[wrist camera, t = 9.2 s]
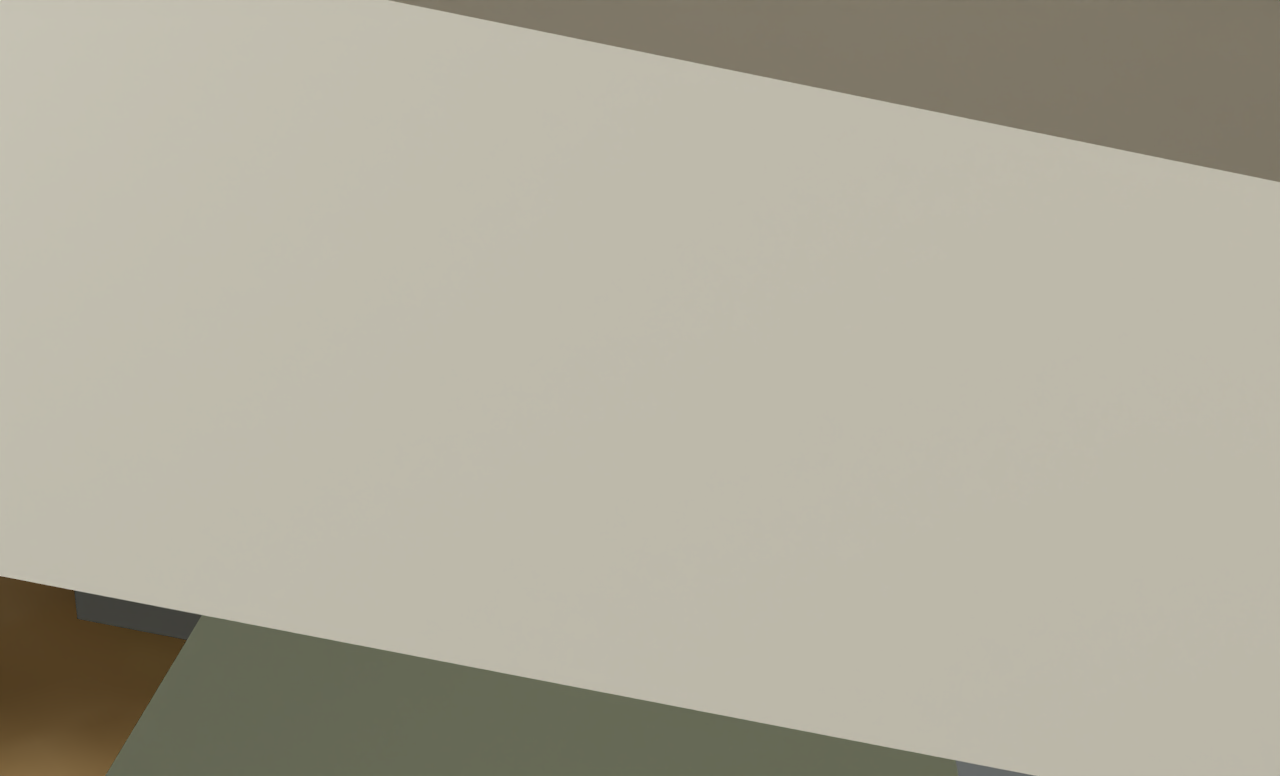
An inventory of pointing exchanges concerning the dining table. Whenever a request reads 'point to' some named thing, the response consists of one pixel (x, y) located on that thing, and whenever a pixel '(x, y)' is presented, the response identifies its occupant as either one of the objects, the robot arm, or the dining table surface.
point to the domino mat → (184, 622)
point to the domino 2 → (443, 721)
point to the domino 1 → (674, 350)
